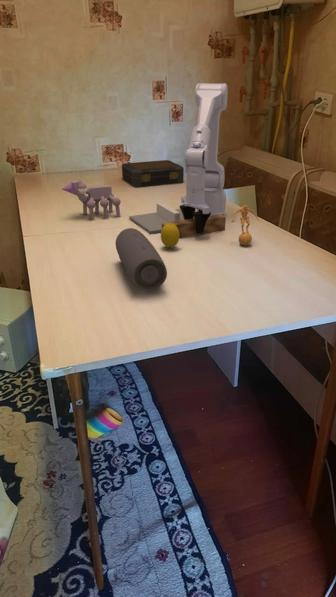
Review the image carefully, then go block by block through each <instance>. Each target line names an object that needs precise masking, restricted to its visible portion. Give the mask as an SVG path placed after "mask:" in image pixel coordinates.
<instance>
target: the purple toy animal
mask: <svg viewBox="0 0 336 597" xmlns="http://www.w3.org/2000/svg"><path fill="white" fill-rule="evenodd" d="M112 189H113V188H112V186H111V185H110V184H103V185H101V184H100V185H93V186H92V185H91V186H87V184H86V183H85V182H83V181H82V180H80V179H74V180H70V183H69V184H67V185H65V186H64V187H62V188H61V190H62V191H65V192H67V193H70V194H72V195H74V196H77V198H78V200H79V201H80V202H81V203H82V213H83V215H84V216H85V215H86V216H87V215H88V212H89V217H90V221H95V214H99V213H100V206H101V208H103V216H104V219H109V213H110V212H111V213H113V206H115V214H116V215H115V216H116V217H117V218H120V217H121V211H120V205H121V199H120V198H119V197H115V195H114V194H113V190H112ZM94 209H95V210H94ZM94 213H95V214H94Z"/></svg>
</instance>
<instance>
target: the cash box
mask: <svg viewBox="0 0 336 597" xmlns="http://www.w3.org/2000/svg"><path fill="white" fill-rule="evenodd" d="M121 170H122V171H121V176H122V177H121V178H122V180H123V181H124V182H125V183H126V184H129V185H130V186H131V187H133V188H137V189H138V188H146V187H147V188H149V187H157V186H169V185H176V184H183V183H184V179H185V178H184V177H185V176H184V175H185V174H184V173H185V171H184V170H185V167H183V165H180V164H177V163H176V162H173V161H171V160H168V159H163V160H150V161H138V162H124V163H122V164H121Z"/></svg>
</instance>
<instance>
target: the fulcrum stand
mask: <svg viewBox="0 0 336 597" xmlns="http://www.w3.org/2000/svg"><path fill="white" fill-rule="evenodd" d="M128 218H129V219H128V220H130V221H132V222H133V224H135V225H137V226H138V227H140V228H141V229H142V230H144V231H145V232H147V233H148V234H150V235H154V234H159V233H160V234H161V231H162V223H167V222H173V221H179V220H184V217H183V214H182V211H181V209H180V208H178V209H174V208H173V207H170V206H168V204H167V205H166V204H165V203H163V202H156V212H151V213H144V214H138V215H137V214H136V215H130V216H128ZM193 218H194V217H193Z"/></svg>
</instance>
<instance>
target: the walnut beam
mask: <svg viewBox="0 0 336 597" xmlns="http://www.w3.org/2000/svg"><path fill="white" fill-rule="evenodd" d="M226 219H227V216H225V214H223V215H221V214H216V215H210V216H209V218H208V220H207V222H206V224H205V227H204V231H203V233H199V234H197V233H196V224H195V218H192V219H186V220H179V221H173V222H167V223H162V228H163V227H164V226H165V225H166V224H169V223H172V224H174V225H175V226H176V227H177V228H178V230H179V240H180V239H186V238H191V237H197V236H201V235H206V234H212V233H217V232H225V231H226V222H227V221H226Z"/></svg>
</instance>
